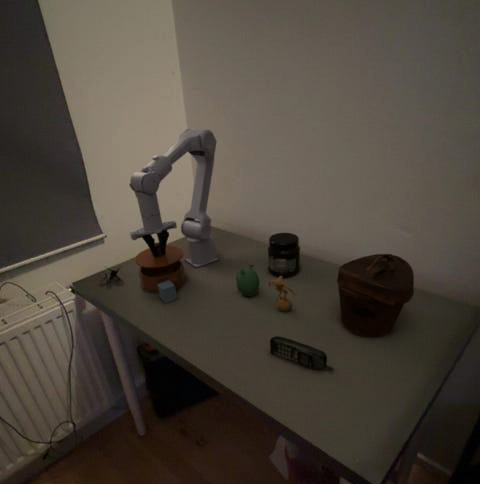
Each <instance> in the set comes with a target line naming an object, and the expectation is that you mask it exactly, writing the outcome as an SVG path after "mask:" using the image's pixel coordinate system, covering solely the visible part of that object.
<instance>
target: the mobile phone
mask: <svg viewBox="0 0 480 484" xmlns="http://www.w3.org/2000/svg"><path fill="white" fill-rule="evenodd" d="M269 346H270V347H269V349H270V354H271V355H273V356H276V357H278V358H282V359H285V360H287V361H289V362H293V363H295V364H297V365H300V366H302V367H304V368H306V369H307V368H308V369H312V370H319V371H321V370H323V369H327V370H330V371H333V370H334V367H333V366H330V365H327V363H328V357H327V354H326V353H325V352H324V351H323V350H321V349H318V348H316V347H313V346H311V345H309V344H305V343H303V342H302V343H301V342H299V341H297V340H294V339H291V338H288V337H287V338H286V337H283V336H278V335H277V336H273V337H271V338H270V339H269Z"/></svg>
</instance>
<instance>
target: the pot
mask: <svg viewBox="0 0 480 484" xmlns="http://www.w3.org/2000/svg"><path fill="white" fill-rule="evenodd" d="M138 276H139V280H140V283H141V286H142V288H143V289H144V290H145V291H146V292H149V293H152V294H153V293H154V294H159V290H158V285H157V284H160V283H163V282H165V281H168V280H170V281H171V282H172V283H173V284H174V285H175V290H177V289H178V288H180V287H181V286H182V285H184V283H186V282H185V281H186V274H185V269H184V264H183V260H181V259H180V260H179V261H177V262H176V263H174V264H171V265H168V266H164V267H159V268H146V267H142V266H140V267H139V268H138Z"/></svg>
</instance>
